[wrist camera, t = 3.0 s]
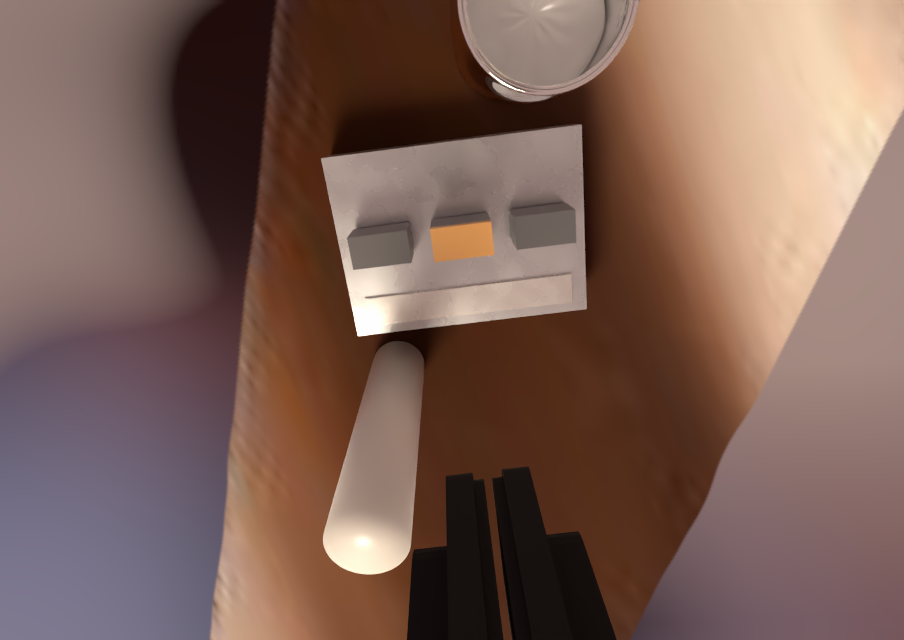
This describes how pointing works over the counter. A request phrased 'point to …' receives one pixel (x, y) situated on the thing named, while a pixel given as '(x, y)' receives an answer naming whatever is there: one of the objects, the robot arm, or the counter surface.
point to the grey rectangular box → (381, 246)
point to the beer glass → (536, 44)
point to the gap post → (380, 467)
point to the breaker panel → (456, 194)
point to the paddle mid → (461, 237)
